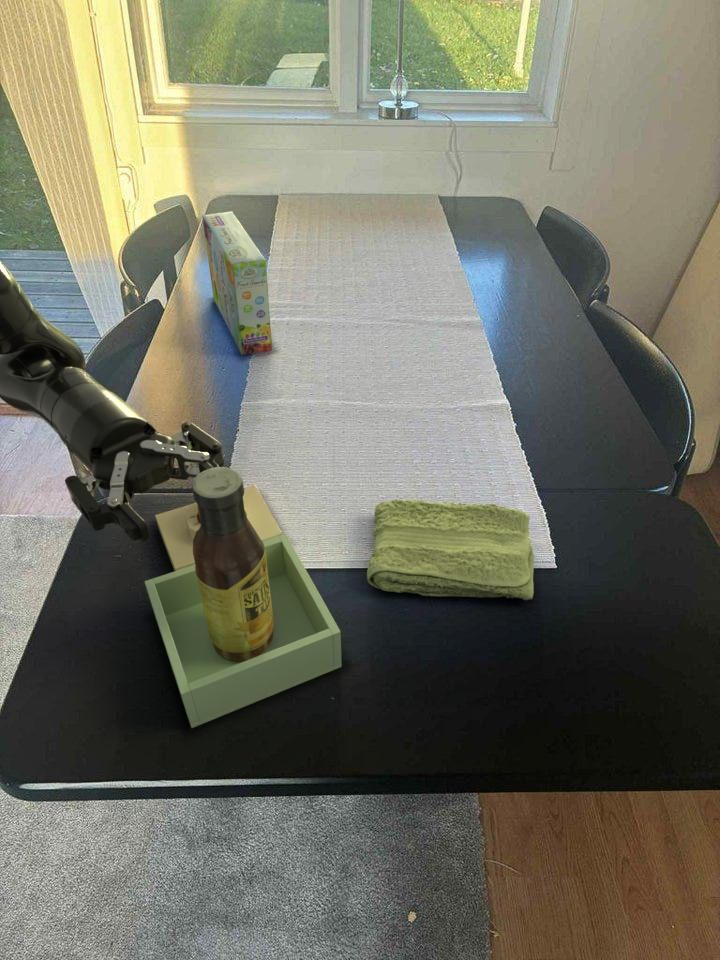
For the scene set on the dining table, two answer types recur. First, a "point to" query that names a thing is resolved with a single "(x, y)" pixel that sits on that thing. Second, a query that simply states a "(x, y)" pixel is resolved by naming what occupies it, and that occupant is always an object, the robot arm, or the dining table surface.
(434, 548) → the washcloth
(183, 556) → the panel
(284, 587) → the sage green tray
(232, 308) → the snack box
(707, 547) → the dining table surface
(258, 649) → the sauce bottle
